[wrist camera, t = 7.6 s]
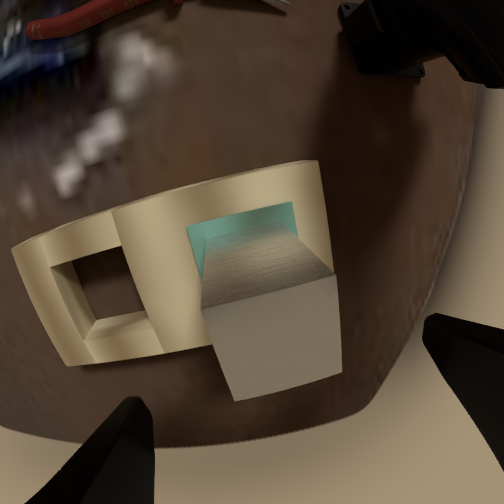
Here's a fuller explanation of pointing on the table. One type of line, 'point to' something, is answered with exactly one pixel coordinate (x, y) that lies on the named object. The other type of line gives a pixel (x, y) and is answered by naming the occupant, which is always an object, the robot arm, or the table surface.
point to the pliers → (87, 17)
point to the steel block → (270, 310)
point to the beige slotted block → (163, 258)
